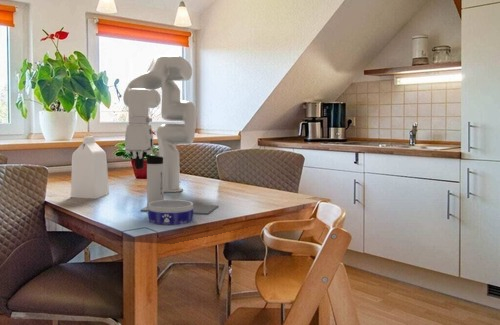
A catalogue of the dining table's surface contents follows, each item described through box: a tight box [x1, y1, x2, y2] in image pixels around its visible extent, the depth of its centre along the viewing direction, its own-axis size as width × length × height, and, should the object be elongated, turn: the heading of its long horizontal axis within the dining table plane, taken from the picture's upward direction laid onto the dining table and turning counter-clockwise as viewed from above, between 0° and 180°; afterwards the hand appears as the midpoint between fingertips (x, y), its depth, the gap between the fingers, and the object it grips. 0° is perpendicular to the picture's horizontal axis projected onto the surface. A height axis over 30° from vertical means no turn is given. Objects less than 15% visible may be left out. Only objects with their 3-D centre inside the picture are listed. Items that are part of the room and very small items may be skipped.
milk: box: [70, 135, 110, 199], centre depth 208 cm, size 12×12×26 cm
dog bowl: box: [147, 199, 194, 226], centre depth 163 cm, size 15×15×6 cm
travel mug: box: [145, 154, 165, 207], centre depth 183 cm, size 6×7×20 cm
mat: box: [140, 203, 219, 215], centre depth 182 cm, size 15×26×1 cm, turn 80°
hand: (139, 168), depth 183 cm, fingers closed
